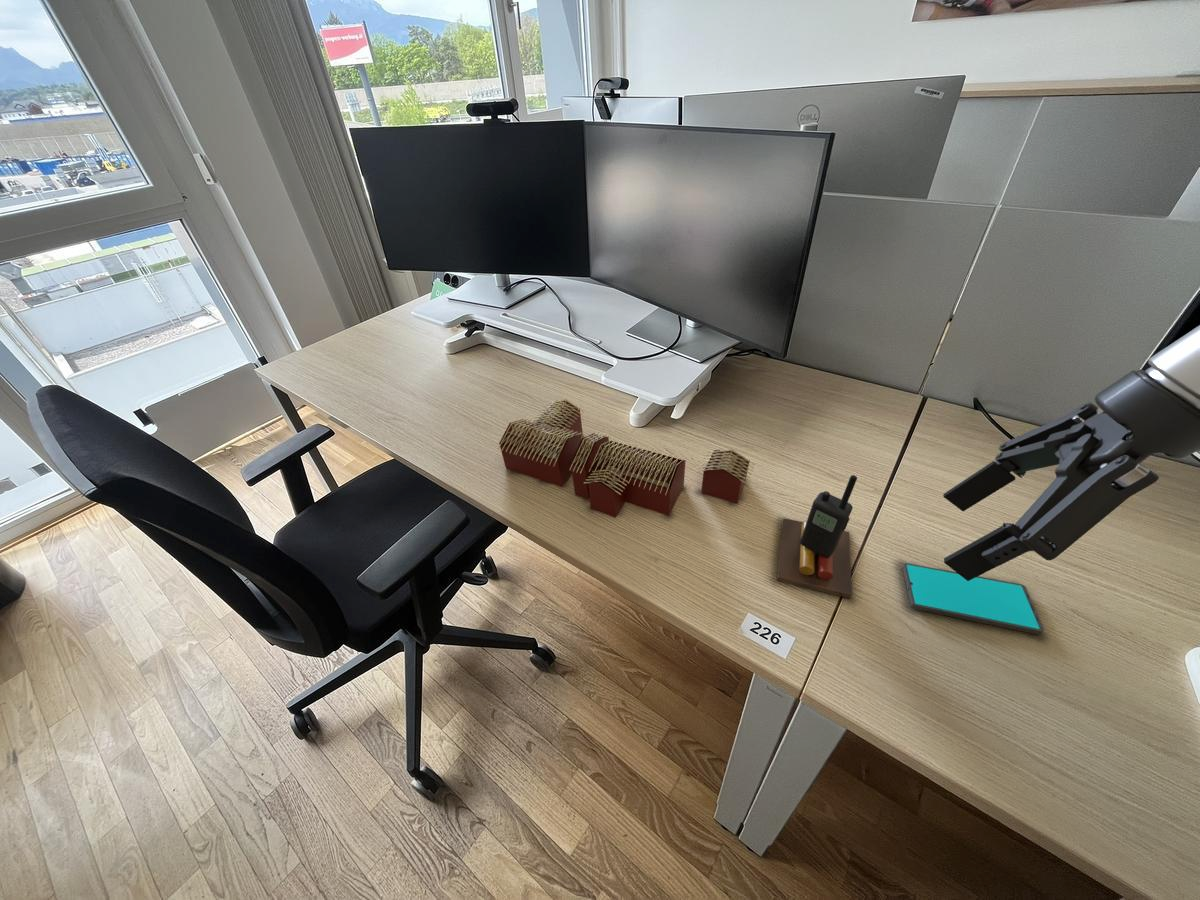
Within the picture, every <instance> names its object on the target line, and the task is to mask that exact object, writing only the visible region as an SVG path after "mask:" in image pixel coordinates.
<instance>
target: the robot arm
mask: <svg viewBox="0 0 1200 900" xmlns="http://www.w3.org/2000/svg"><path fill="white" fill-rule="evenodd" d="M1147 361H1148V363H1147V364H1148V365H1149V366H1150V367H1148V368H1147V369H1146V370H1143V369H1139V368H1138V369H1137V370H1134V369H1133V370H1131V371H1130V372H1128V373H1127V374H1125V375H1123V376H1122V377H1120V378H1119V379H1118V380H1116V381H1114V382H1113V383H1112V384H1110V385H1108V386H1107V387H1105V388H1103V389H1102V390H1101V391H1100V392H1098V393H1097V394H1096V395H1095V397H1094V402H1095V404H1096V405H1095V404H1093V403H1092V402H1090V401H1088V402H1086V403H1083V404H1081V406H1079V407H1077V408H1075V409H1074V410H1072V411H1071V412H1068V413H1067V414H1065V415H1063V416H1061V417H1059V418H1056V419H1054V420H1051V421H1050V422H1048V423H1046V424H1043V425H1040V426H1039V427H1037V428H1034V429H1032V430H1030V431H1028V432H1026V433H1025V432H1024V433H1023V434H1021V435H1018V436H1016V437H1014V438H1011V439H1010V440H1007V441H1005V442H1003V443H1002V444H1000V445H999V447H998V450H999V451H1000V452H999V453H997V455H996V456H995V457H994V460H995V461H994V460H992V461H991V462H989V463H988V464H986V465H985V466H983V467H982V468H980V469H979V470H977V471H976V472H975V473H973V474H971V475H970V476H968V477H967V478H965V479H964V480H962V481H961V482H960V483H958V484H956V485H955V486H953V487H952V488H950V489H949V490H947V491H946V492H944V493H943V495H942V496H943V498H944V499H945V500H947V501H948V502H949V503H950V504H952V505H953V506H955V507H956V508H957V509H958V510H960V511H962V512H965V511H967V510H968V509H970V508H972V507H973V506H975V505H976V504H978V503H980V502H982V501H983V500H985V499H986V498H988V497H990V496H991V495H993V494H994V493H996V492H997V491H999V490H1001V489H1002V488H1004V487H1006V486H1007V485H1009V484H1011V483H1012V482H1014V481H1016V476H1017V477H1018V478H1020V479H1022V478H1023V477H1025V475H1026V474H1027V472H1029V471H1030V472H1031V471H1034V470H1039V469H1044V468H1048V467H1052V466H1057V467H1056V468H1055V470H1054V473H1055V474H1054V475H1055V476H1056V477H1055V479H1053V481H1052V482H1051V483H1050V484H1049V485H1048V486H1047V488H1046V489H1045V490H1044V491H1042V493H1041V494H1040V495H1039V496H1038V497H1037V498H1036V500H1035V501H1034V502H1033V503H1032V504H1031V505H1030V506H1029V508H1027V510H1026V511H1025V512H1024V513H1023V514H1022V515H1021V517H1019V519H1018V520H1017V521H1016V522H1015V523H1011V522H1003V523H1002V524H1001V526H999V527H998V528H996V529H994V530H992V531H990V532H989V533H987V534H985V535H983V536H981V537H979V538H978V539H976V540H974V541H973V542H971V543H969V544H967V545H966V546H963V547H962V548H960V549H958V550H956V551H954V552H953V553H951V554H948V555H947V556H945V557H944V558H943V563H944V564H945V565H946V566H948V567H949V568H950V569H951V570H953V572H957V573H958V574H959V575H960V576H962V577H963V578H964V579H966V580H967V581H970V580H972V579H974V578H975V577H977V576H979V577H980V576H981V575H983V574H985V573H988V572H989V571H992V570H993V569H995V568H997V567H1000V566H1002V565H1004V564H1006V563H1007V562H1008V563H1009V562H1010V561H1012V560H1014V559H1016V558H1018V557H1020V556H1021V555H1024V554H1027V553H1028V552H1035V553H1036V554H1037V555H1039V556H1040V557H1041V558H1043V559H1044V560H1045V561H1053V560H1055V559H1056V558H1058V557H1059V556H1060V555H1061V554H1062V553H1063V552H1065V551H1066V550H1067V549H1069V548H1070V547H1071V546H1072V545H1073V544H1075V543H1076V542H1077V541H1078V540H1079V539H1081V538H1082V537H1083V536H1085V534H1086V533H1088V532H1089V531H1090V530H1092V529H1093V528H1094V527H1095V526H1096V525H1097V524H1099V523H1100V522H1101V521H1102V520H1104V519H1105V518H1106V517H1108V515H1110V514H1111V513H1112V512H1113V511H1114V510H1116V509H1117V508H1118V507H1120V506H1121V505H1122V504H1123V503H1125V502H1126V500H1128V499H1129V498H1131V497H1132V496H1134V495H1135V494H1138V493H1139V492H1141V491H1143V490H1145V489H1146V488H1149V487H1150V486H1151V485H1153V484H1155V483H1156V482H1157V481H1158V480H1159V478H1160V476H1159V475H1158V474H1157V473H1156V472H1154V471H1152V470H1151V469H1149V468H1148V467H1147V466H1145V465H1143V464H1142V463H1143V461H1145V460H1146V459H1148V458H1150V456H1152V455H1154V454H1163V455H1165V456H1166V457H1168V458H1173V459H1184V458H1186V457H1189V456H1191V455H1192V454H1194V453H1197V452H1198V451H1200V324H1199V325H1197V326H1196V327H1195V328H1193V329H1192V330H1190V331H1189V332H1187V333H1186V334H1184V335H1182V336H1181V337H1180V338H1178V339H1177V340H1175V341H1173V342H1172V343H1171V344H1169V345H1168V346H1166V347H1164V348H1163V349H1161V350H1160V351H1158V352H1157V353H1156V354H1154V355H1152V356H1151V357H1149V358H1148V360H1147ZM1012 473H1013V474H1012ZM1015 475H1016V476H1015Z"/></svg>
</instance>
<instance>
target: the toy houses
mask: <svg viewBox="0 0 1200 900" xmlns="http://www.w3.org/2000/svg"><path fill="white" fill-rule="evenodd" d="M546 406H547V407H544V408H545V409H542V412H539V414H537V416H536V417H535V419H529V418H525V419H524V418H521V419H519V420H515V421H512V422H511V421H510V422H509V423H508V425H507V427H506V429H505V431H504V433H503V435H502V437H501V439H500V440H499V442H498V444H499V446H498V447H497V450H499V449H500V452H501V455H502V459H503V463H504V466H505V469H506V470H508V471H511V472H513V473H518V474H521V475H523V476H527V477H530V478H533V479H536V480H539V481H542V482H545V483H549V484H551V485H554V486H558V487H560V488H563V487H564V486H565V485H566V483H567V482H568V481H569V479H570V478H571V477H572V482H573V483H572V485H573V490H574V491H573V492H574V496H576V497H579V498H582V499H585V500H589V504H590V510H591V511H595V512H597V513H602V514H605V515H607V516H611V517H613V518H617V516H618V514H619V513H620V511H621V510H622V508H623V506H624V505H625V503H627V504H630V505H634V506H636V507H640V508H643V509H646V510H649V511H652V512H655V513H659V514H661V515H665V516H668V517H669V516H670V514H671V513H672V511H673V509H674V508H675V505H676V503H677V501H678V499H679V497H680V496H681V493H682V492H683V489H684V487H685V475H686V474H685V473H686V457H684V458H683V459H681V456H679V457H676V454H674V455H673V456H670V455H671V453H669V454H667V455H666V452H664V453H661V451H658V452H655V451H657V450H656V449H654V450H651V448H649V449H647V446H646V447H644V448H642V446H639V447H637V444H635V445H632V444H633V443H630V444H628V442H624V443H623V440H622V441H620V442H618V441H619V439H616V440H615V441H613V440H614V439H615V438H611V439H609V438H610V434H608V435H607V433H603V432H602V433H600V432H596V433H595V432H593V433H591V434H589V435H587V436H584V437H581V436H582V434H583V433H584V432H583V424H582V413H584V410H582V409H581V408H580V407H578V406H577V405H576V404H574V403H572V402H571V401H569V400H567V399H566V398H565V399H561V400H555V401H551V402H549V404H547V405H546ZM548 453H549V454H548ZM547 454H548V455H547ZM552 454H553V455H552ZM551 456H552V458H551ZM556 456H557V457H556ZM555 457H556V459H555ZM703 459H704V460H702V463H701V464H700V467H699V469H697V472H703V474H702V482H701V492H700V493H701V494H703V495H707V496H710V497H714V498H716V499H720V500H724V501H727V502H730V503H734V504H739V501H740V498H741V495H742V492H743V490H744V487H745V485H746V486H748V485H749V483H747V482H750V480H749V479H751V476H752V473H751V472H753V470H752V469H755V467H754V466H756V464H755V463H753V462H752V461H751V459H747V458H746V457H745V456H743V455H742V454H740V453H738V452H737V451H735V450H734V449H732V448H731V449H724V450H721V449H714V450H712V451H707V452H706V454H705V457H704V458H703ZM750 464H752V465H753V466H752V465H750ZM751 468H752V469H751ZM620 470H621V471H620ZM614 471H615V472H614ZM749 471H750V472H749ZM624 472H626V473H625V474H623V473H624ZM618 473H620V475H619V474H618ZM629 473H631V476H630V475H629ZM748 474H749V475H751V476H749V475H748ZM639 476H642V477H641V478H639ZM644 478H647V479H646V480H643V479H644ZM747 478H749V479H747ZM649 479H652V481H651V482H649ZM655 481H657V483H654V482H655ZM660 482H662V485H660V484H659V483H660ZM665 484H668V487H667V486H665Z"/></svg>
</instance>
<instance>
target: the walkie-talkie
mask: <svg viewBox="0 0 1200 900" xmlns="http://www.w3.org/2000/svg"><path fill="white" fill-rule="evenodd" d="M857 480H858V476H857V475H855V474H852V475H850V477H849V479H848V482H847V483H846V486H845V489H844V492H843V494H842V497H841V498H839V497H837V496H834V495H833V494H831V493H830V491H827V490H826V491H821V492H819V493H818V495H817V496H816V497H815V498H814V500H813V502H812V505H811V507H810V511H809V513H808V517H807V520H806V521H805V522H806V525H805V528H804V531H803V534H802V537H801V540H800V543H801V545H803V546H804V547H806V548H808V549H810V550H812V551H814V552H815V553H817V554H819V555H821V556H823V557H826V558H829V557H830V556H831V555H832V553H833V552H834V550H835V549H836V547H837V544H838V542H839V539H840V537H841V535H842V532H843V531H846V529H847V527H848V524H849V521H850V519H851V518H850V516H851V514H852V511H853V505H852V504H851V503H850V502H849V499H850V497H851V495H852V493H853V490H854V488H855V485H856V483H857Z"/></svg>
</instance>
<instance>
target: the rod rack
mask: <svg viewBox="0 0 1200 900" xmlns="http://www.w3.org/2000/svg"><path fill="white" fill-rule="evenodd" d="M806 522H807V521H804V522H803V521H799V520H794V519H789V518H784V517H782V520H781V528H780V539H779V552H778V561H777V571H776V581H778V582H780V583H781V582H782V583H786V584H789V585H793V586H797V587H798V586H799V587H802V588H806V589H808V590H809V589H810V590H813V591H817V592H821V593H825V594H829V595H833V596H837V597H842V598H846V599H850V600H851V598H852V596H853V589H852V586H853V585H852V567H851V566H852V564H851V562H852V561H851V541H850V531H848V530H847V531H846V530H844V531H843V532H842V535H841V537H840V539H839V542H838V544H837V547H836V549H835V550H834V552H833V553H832V555H831V556H830V557H829V558H826V557H823V556H821V555H819V554H817V553H815V552H814V551H812V550H810V549H808V548H806V547H804V546H803V545H801V543H800V540H801V537H802V534H803V531H804V528H805V525H806Z"/></svg>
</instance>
